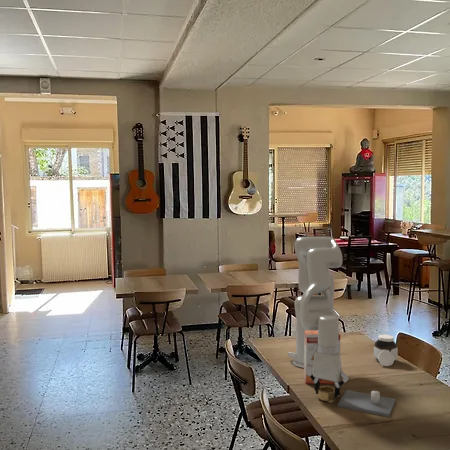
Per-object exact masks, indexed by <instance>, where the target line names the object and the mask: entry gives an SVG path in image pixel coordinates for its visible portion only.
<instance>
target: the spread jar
mask: <svg viewBox="0 0 450 450" xmlns="http://www.w3.org/2000/svg"><path fill="white" fill-rule="evenodd" d="M394 339H395V337H394V336H393V335H390V334H379V335H378V336H377V340H376V341H375V342H374V345H373V356H374V358H375V360H376V361H377V362H379V363H380V365H382V366H383V367H390V366H392V365H393V364H394V362H396V360H397V359H398V351H399V349H398V344H397V343H396V342H395V341H394Z"/></svg>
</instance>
